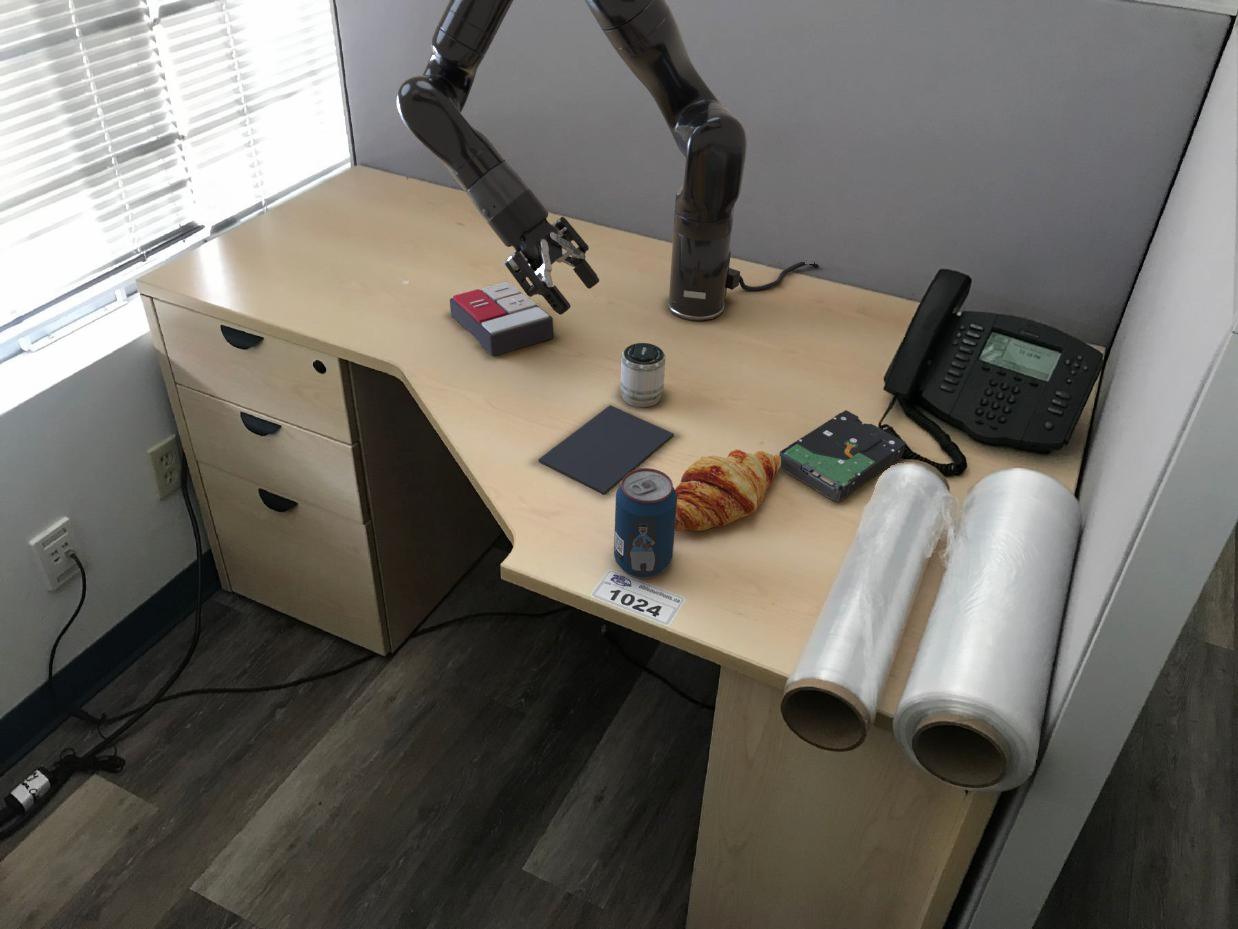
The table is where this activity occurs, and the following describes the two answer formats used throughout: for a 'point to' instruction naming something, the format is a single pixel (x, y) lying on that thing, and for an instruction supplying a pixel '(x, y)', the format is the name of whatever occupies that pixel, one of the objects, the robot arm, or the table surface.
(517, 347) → the calculator
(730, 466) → the croissant
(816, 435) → the disk drive
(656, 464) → the table surface
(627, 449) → the felt mat
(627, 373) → the camera lens
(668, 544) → the soda can
